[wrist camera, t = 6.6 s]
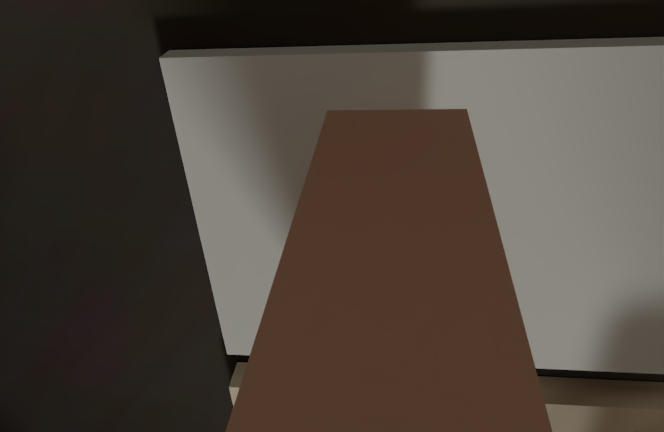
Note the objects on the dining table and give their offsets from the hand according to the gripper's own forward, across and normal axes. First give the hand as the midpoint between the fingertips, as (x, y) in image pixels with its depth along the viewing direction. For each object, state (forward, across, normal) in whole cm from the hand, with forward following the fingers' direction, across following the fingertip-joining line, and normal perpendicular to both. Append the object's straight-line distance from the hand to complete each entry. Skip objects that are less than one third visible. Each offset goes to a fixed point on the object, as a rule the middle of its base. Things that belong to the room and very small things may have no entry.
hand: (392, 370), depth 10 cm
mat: (+5, -2, 0) cm, 5 cm away
